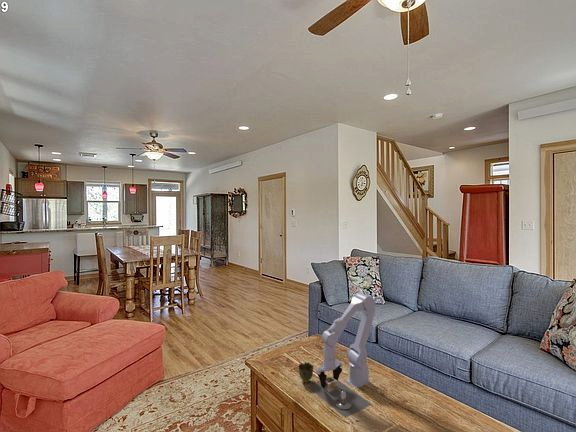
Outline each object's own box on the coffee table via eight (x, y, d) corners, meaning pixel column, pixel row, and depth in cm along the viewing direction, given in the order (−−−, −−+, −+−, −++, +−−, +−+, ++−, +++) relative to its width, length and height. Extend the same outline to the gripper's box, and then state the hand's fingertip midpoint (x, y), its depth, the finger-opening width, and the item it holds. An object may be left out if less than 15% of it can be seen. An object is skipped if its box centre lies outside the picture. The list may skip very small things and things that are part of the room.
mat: (333, 377, 154) (333, 376, 154) (372, 405, 132) (372, 404, 132) (308, 387, 146) (308, 386, 146) (345, 418, 124) (345, 417, 124)
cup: (301, 387, 146) (301, 370, 146) (296, 378, 153) (296, 363, 153) (315, 384, 148) (315, 368, 148) (310, 376, 155) (310, 361, 155)
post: (343, 398, 137) (343, 385, 137) (354, 406, 131) (354, 393, 131) (332, 403, 133) (332, 390, 133) (342, 412, 127) (342, 398, 127)
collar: (330, 383, 148) (330, 375, 148) (337, 389, 144) (337, 380, 144) (321, 387, 145) (321, 378, 145) (328, 392, 141) (328, 384, 141)
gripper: (335, 349, 152) (335, 376, 152) (312, 357, 144) (312, 385, 144) (345, 355, 146) (344, 383, 146) (321, 363, 138) (321, 392, 138)
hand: (329, 384), depth 145 cm, fingers open, 7 cm apart
